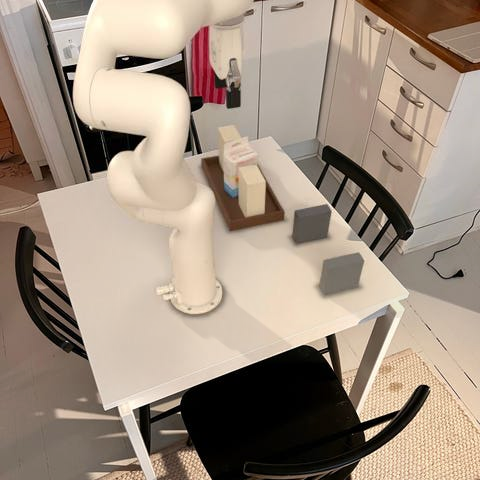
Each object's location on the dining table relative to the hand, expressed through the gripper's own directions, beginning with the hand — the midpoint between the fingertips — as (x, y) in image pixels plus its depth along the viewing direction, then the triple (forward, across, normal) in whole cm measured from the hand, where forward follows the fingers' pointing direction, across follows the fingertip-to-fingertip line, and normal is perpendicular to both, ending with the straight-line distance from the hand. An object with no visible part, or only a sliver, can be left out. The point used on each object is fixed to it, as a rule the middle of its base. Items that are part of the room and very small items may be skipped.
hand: (227, 97), depth 114 cm
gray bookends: (+34, +24, +18) cm, 46 cm away
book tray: (+34, -10, +6) cm, 36 cm away
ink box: (+33, -10, +6) cm, 35 cm away
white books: (+34, -10, +6) cm, 36 cm away
